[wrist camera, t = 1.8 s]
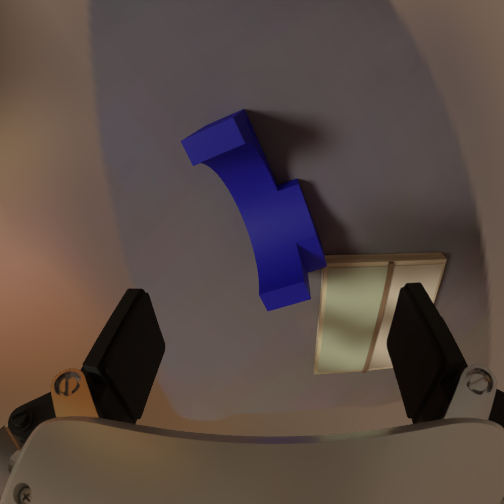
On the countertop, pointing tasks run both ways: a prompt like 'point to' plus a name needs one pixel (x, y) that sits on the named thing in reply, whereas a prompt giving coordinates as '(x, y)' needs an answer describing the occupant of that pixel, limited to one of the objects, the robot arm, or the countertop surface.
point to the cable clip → (263, 208)
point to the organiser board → (366, 306)
